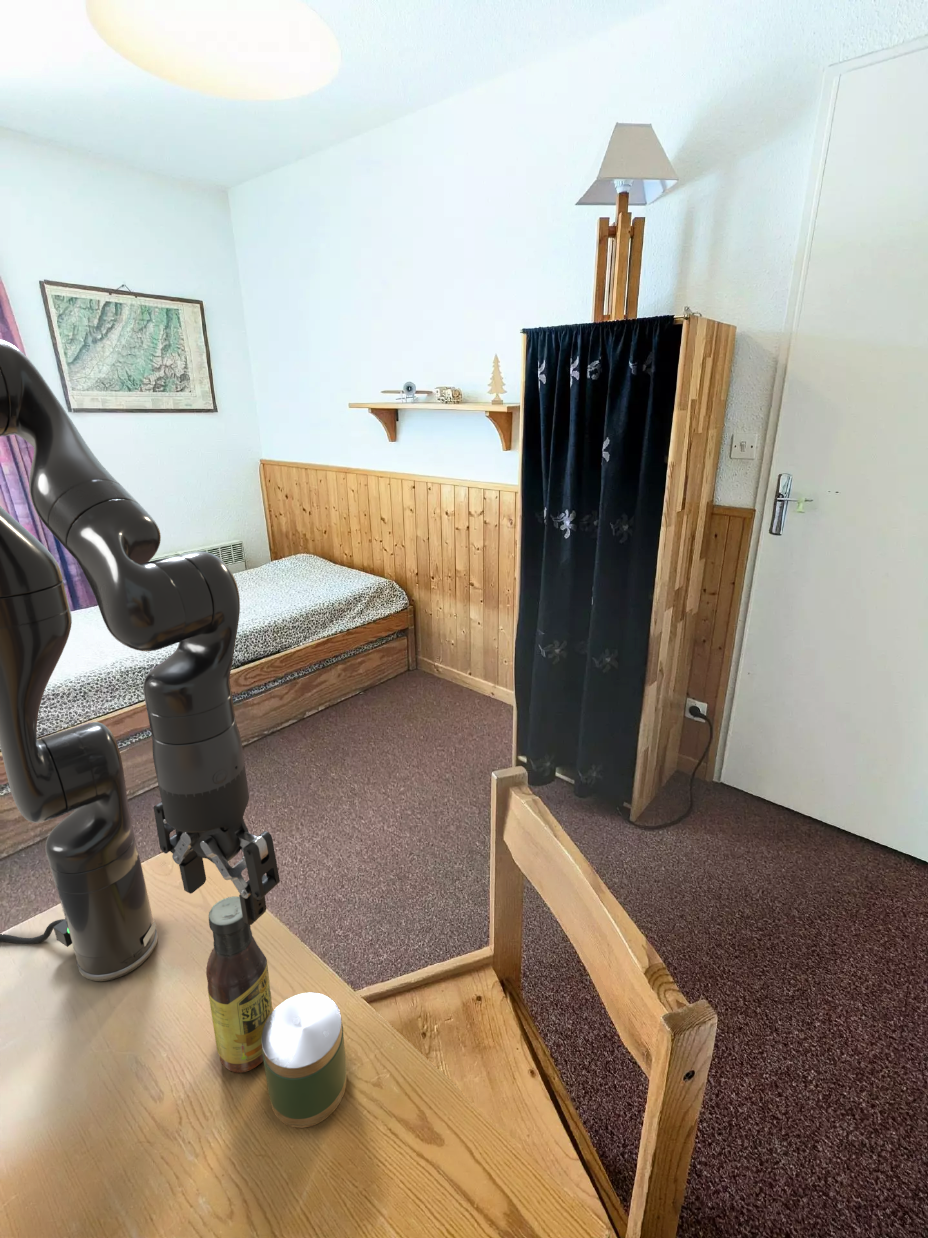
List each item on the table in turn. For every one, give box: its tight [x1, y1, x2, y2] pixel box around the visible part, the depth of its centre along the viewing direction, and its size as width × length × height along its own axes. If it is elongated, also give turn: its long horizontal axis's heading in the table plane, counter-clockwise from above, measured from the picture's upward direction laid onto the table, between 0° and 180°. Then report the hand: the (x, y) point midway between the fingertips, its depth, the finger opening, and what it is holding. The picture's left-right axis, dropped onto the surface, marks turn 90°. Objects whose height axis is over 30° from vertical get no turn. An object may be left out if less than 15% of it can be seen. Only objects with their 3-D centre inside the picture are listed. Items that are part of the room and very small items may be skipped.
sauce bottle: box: [205, 895, 274, 1074], centre depth 66 cm, size 6×6×20 cm
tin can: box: [262, 991, 348, 1129], centre depth 64 cm, size 8×8×9 cm
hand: (224, 902), depth 62 cm, fingers open, 8 cm apart
